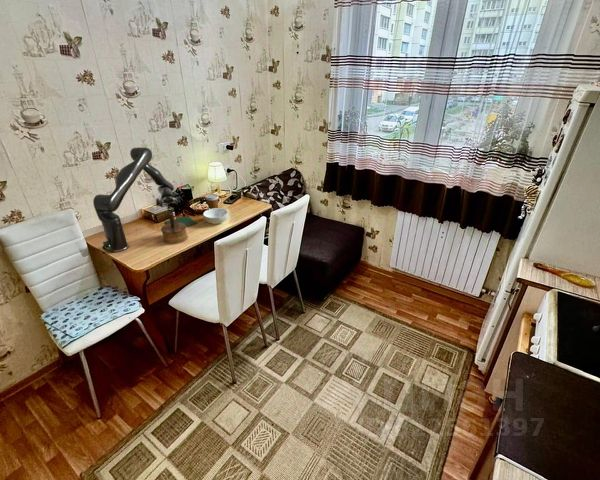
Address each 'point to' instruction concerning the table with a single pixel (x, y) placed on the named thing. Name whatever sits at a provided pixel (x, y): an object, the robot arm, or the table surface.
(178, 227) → the basket lid
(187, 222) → the mat
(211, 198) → the disposable coffee cup
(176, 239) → the basket
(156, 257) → the table surface
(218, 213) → the cereal bowl
